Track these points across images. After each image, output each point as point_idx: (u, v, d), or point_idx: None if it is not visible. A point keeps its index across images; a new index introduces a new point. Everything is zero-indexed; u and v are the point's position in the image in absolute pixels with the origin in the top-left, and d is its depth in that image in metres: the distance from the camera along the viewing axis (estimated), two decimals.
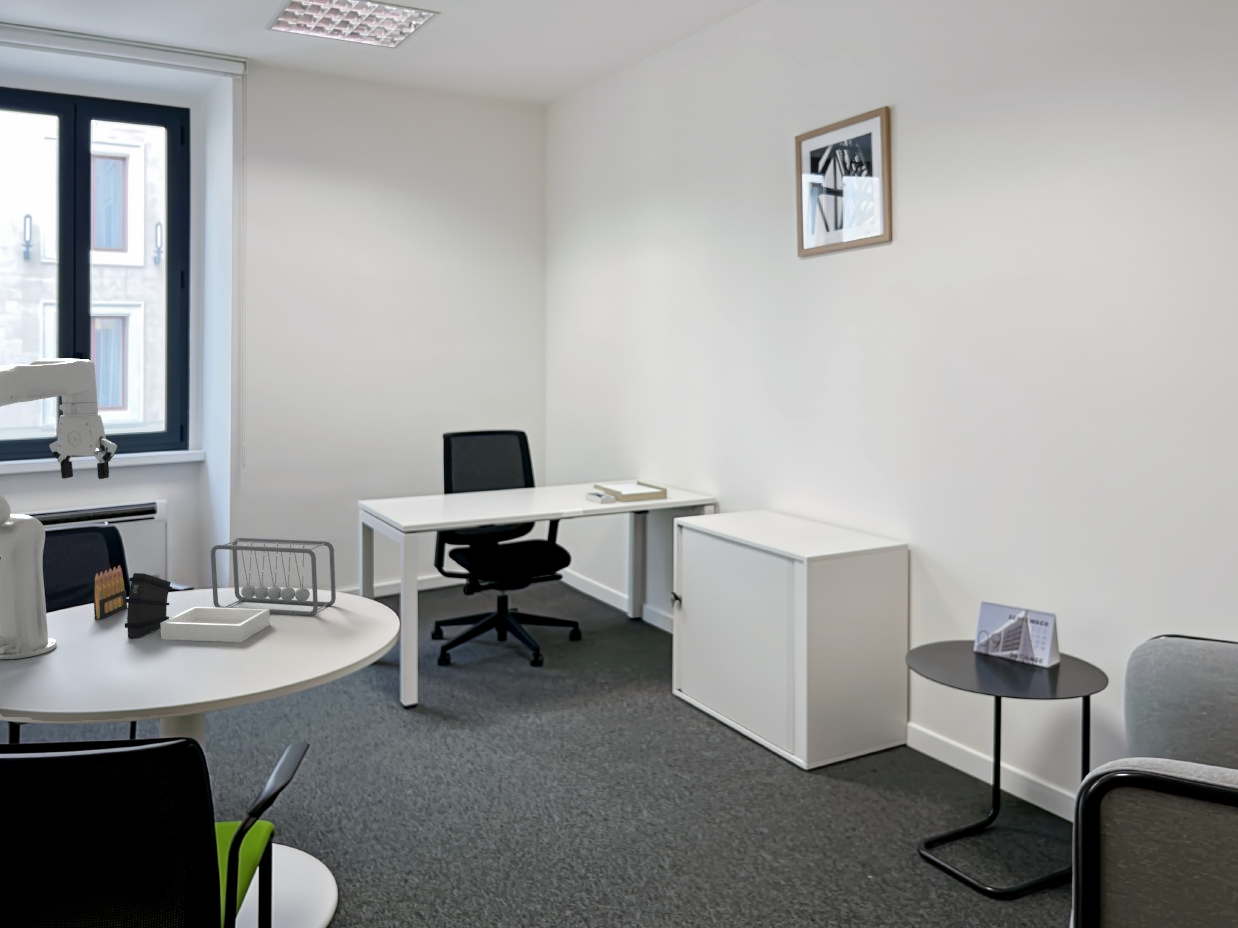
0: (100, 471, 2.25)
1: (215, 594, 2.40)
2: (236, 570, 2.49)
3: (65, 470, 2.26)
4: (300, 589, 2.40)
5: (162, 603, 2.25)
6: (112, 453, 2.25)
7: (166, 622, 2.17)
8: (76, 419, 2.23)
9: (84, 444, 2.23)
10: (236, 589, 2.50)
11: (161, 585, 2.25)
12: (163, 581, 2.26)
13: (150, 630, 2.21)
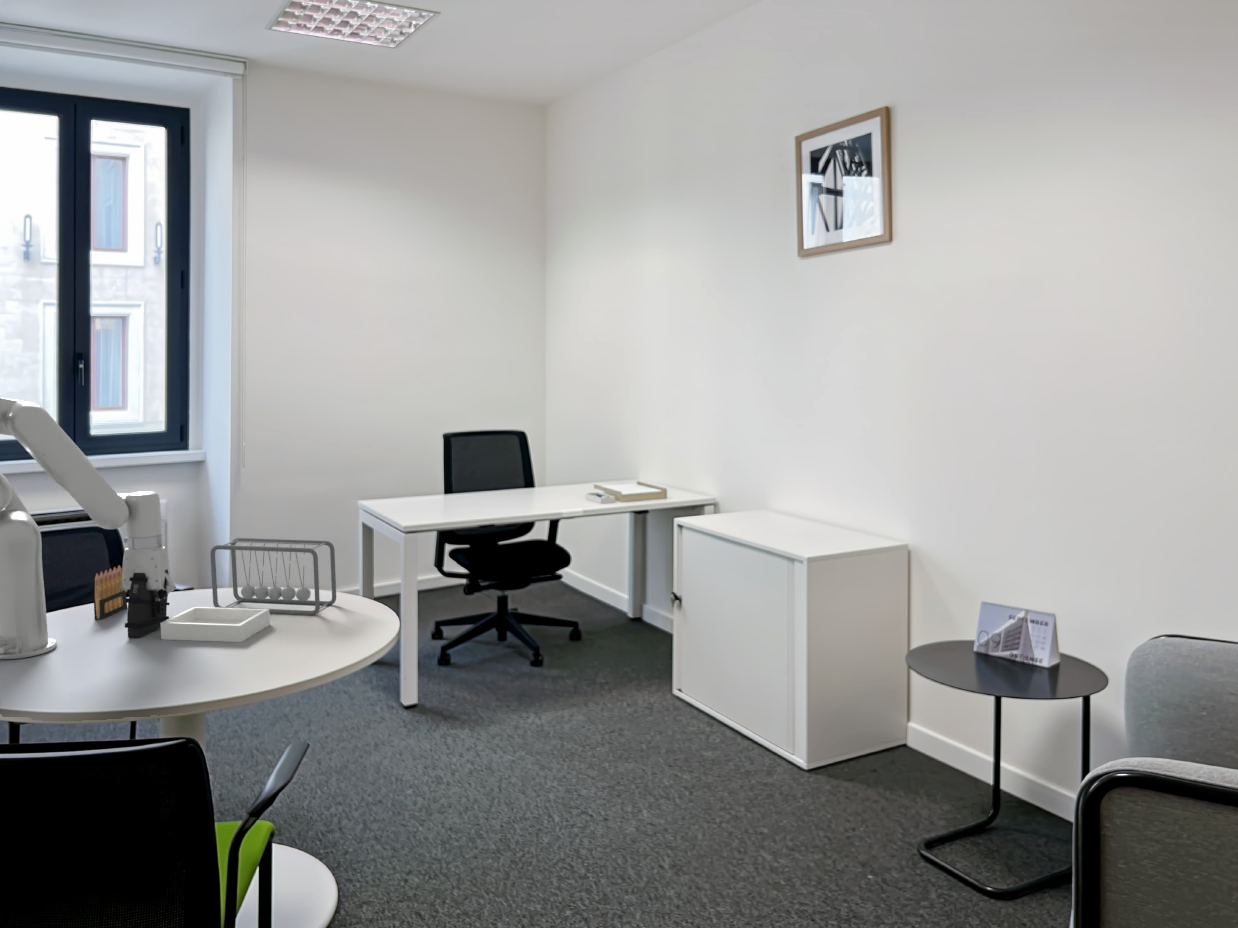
0: (155, 609, 2.22)
1: (214, 595, 2.40)
2: (235, 570, 2.49)
3: None
4: (301, 589, 2.40)
5: None
6: None
7: (166, 622, 2.17)
8: (142, 553, 2.19)
9: (149, 579, 2.19)
10: (235, 589, 2.49)
11: None
12: None
13: (150, 630, 2.21)
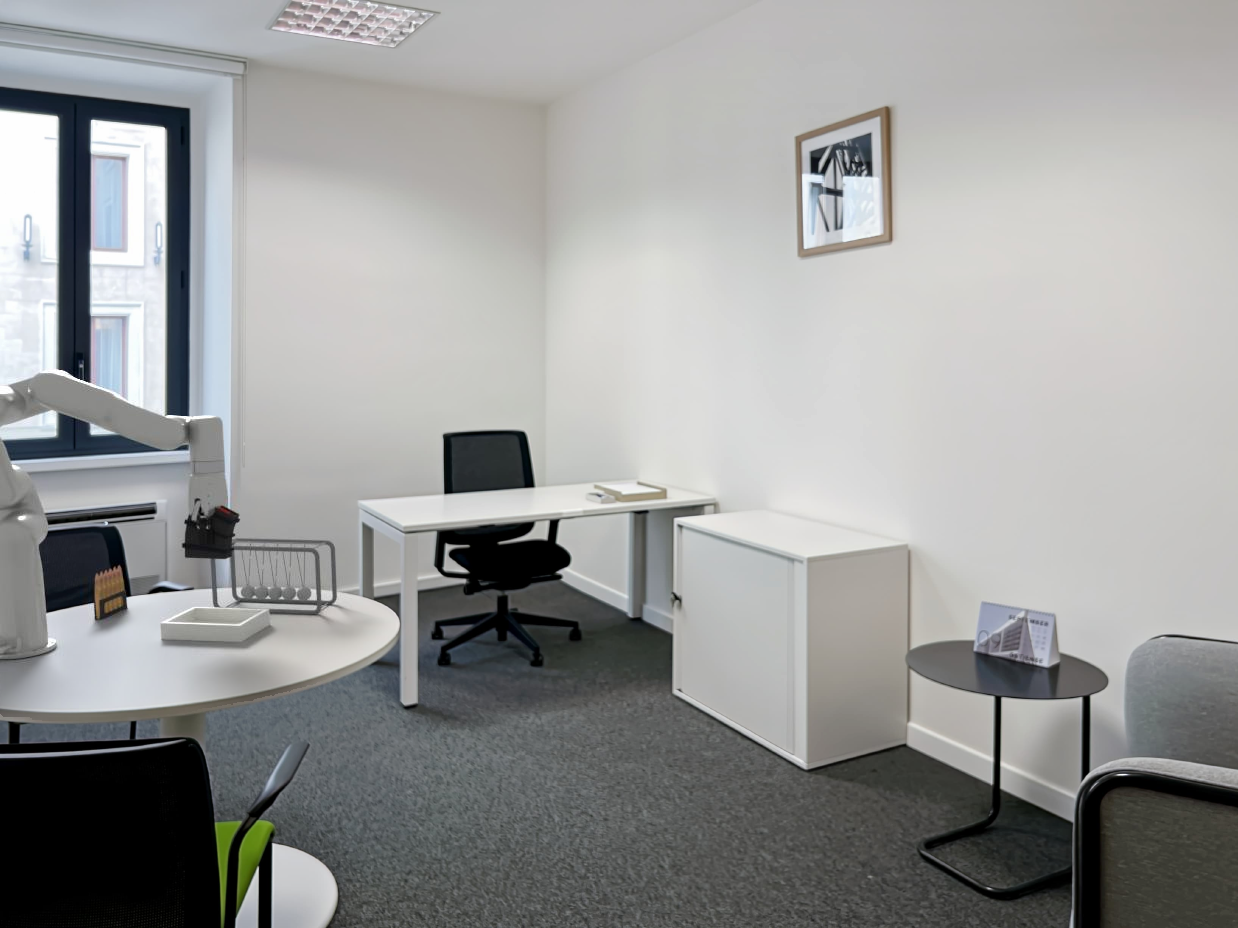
0: (200, 537, 2.17)
1: (214, 595, 2.40)
2: (234, 571, 2.48)
3: None
4: (302, 588, 2.41)
5: (215, 533, 2.17)
6: None
7: (166, 622, 2.17)
8: None
9: None
10: (234, 590, 2.49)
11: (215, 515, 2.17)
12: (221, 512, 2.17)
13: (200, 555, 2.19)
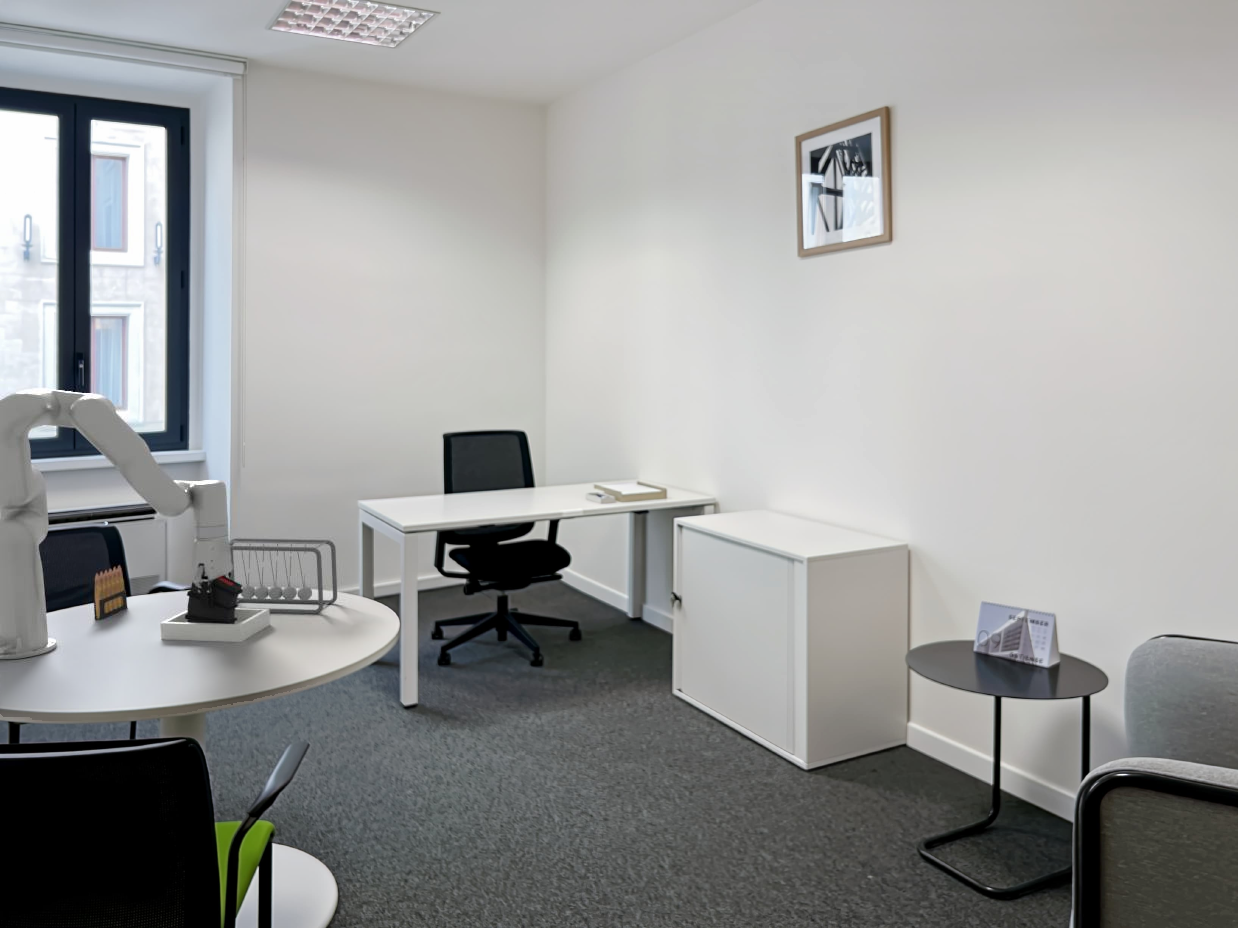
0: (201, 600, 2.18)
1: None
2: (232, 571, 2.48)
3: None
4: (303, 588, 2.41)
5: (218, 605, 2.19)
6: None
7: (166, 622, 2.17)
8: None
9: None
10: None
11: (218, 587, 2.19)
12: (224, 584, 2.19)
13: None
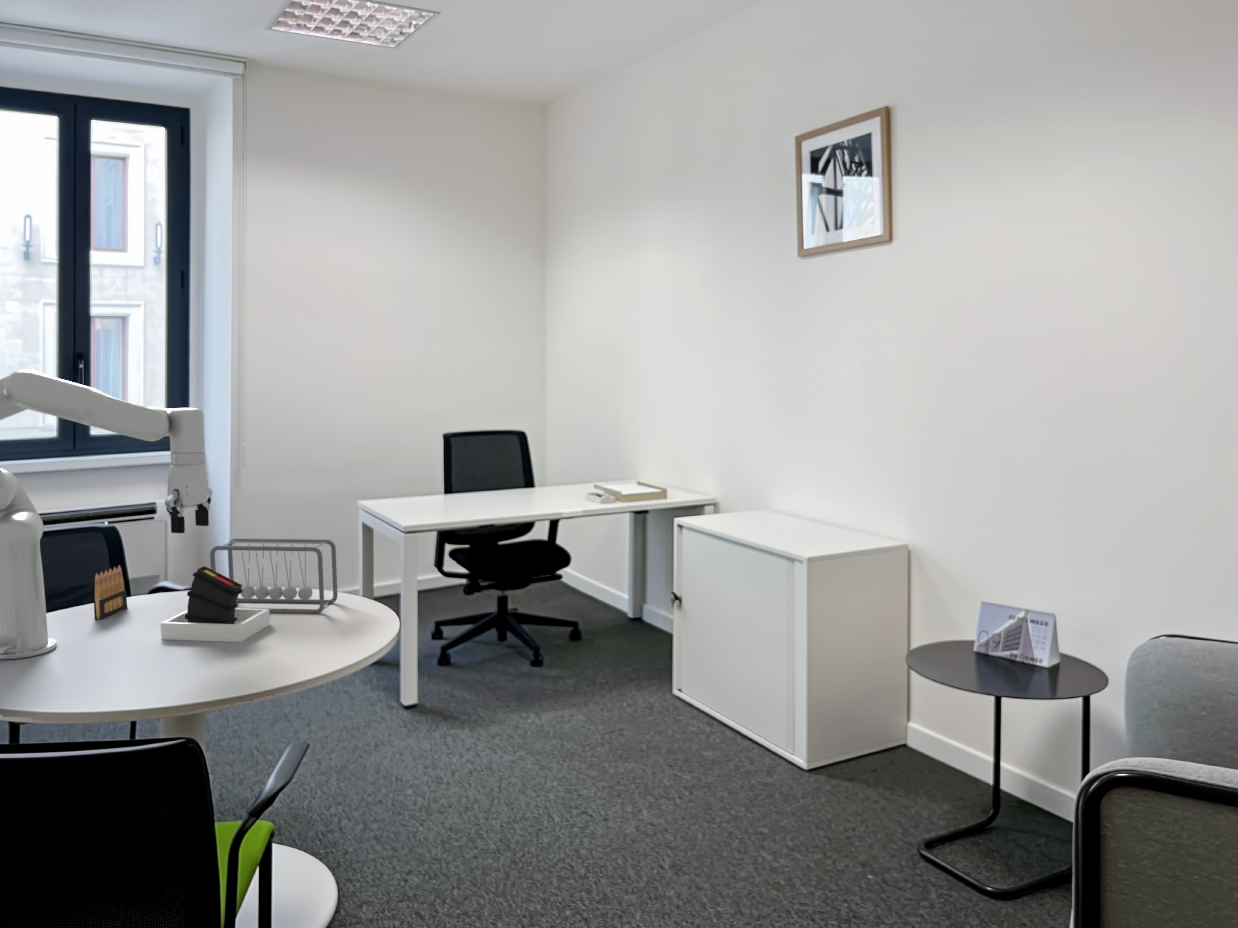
0: (171, 524, 2.16)
1: None
2: (232, 571, 2.48)
3: (197, 517, 2.25)
4: (303, 587, 2.42)
5: (218, 605, 2.19)
6: (168, 508, 2.13)
7: (166, 622, 2.17)
8: None
9: None
10: None
11: (218, 587, 2.19)
12: (224, 584, 2.19)
13: None
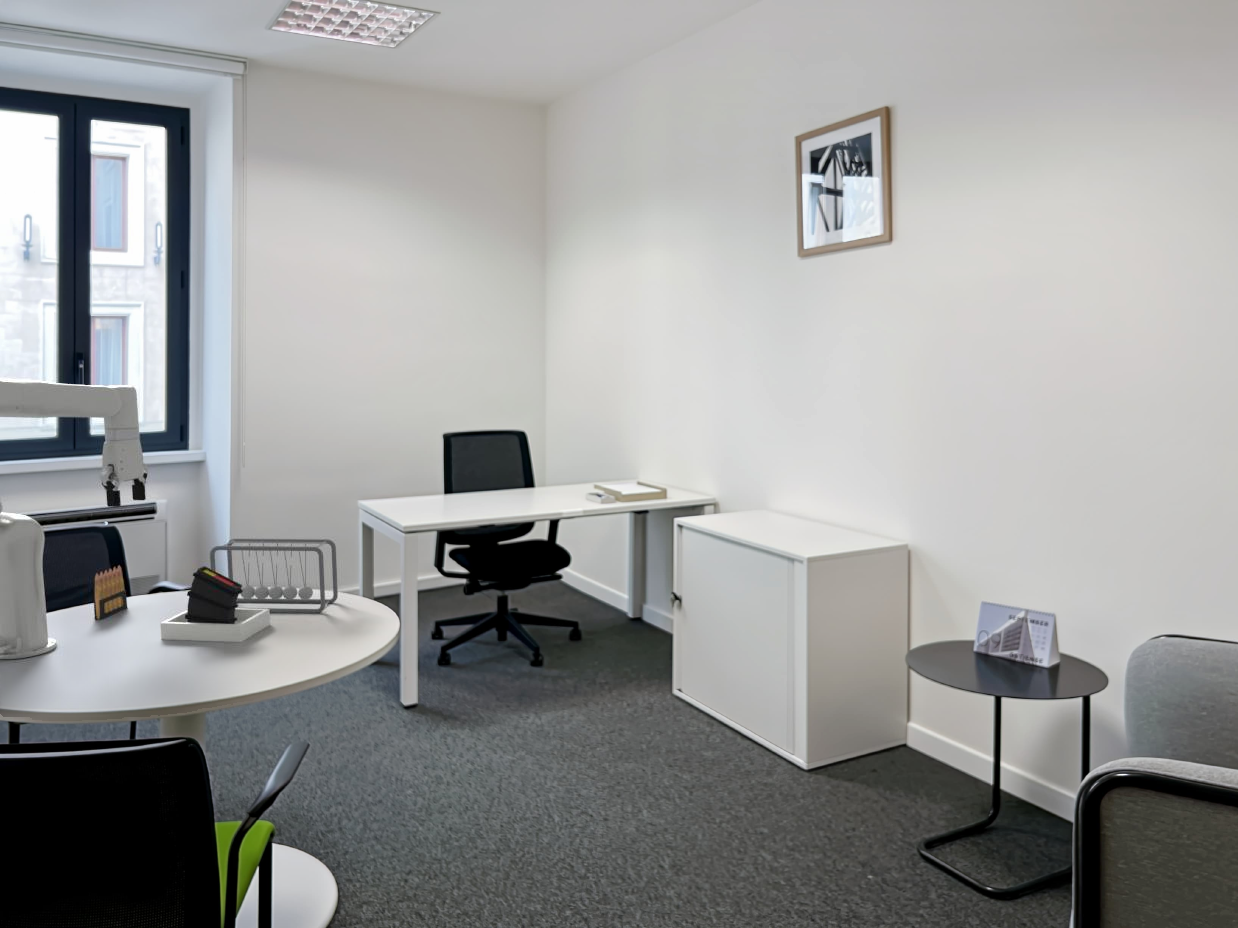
0: (107, 498, 2.23)
1: None
2: (231, 571, 2.48)
3: (134, 492, 2.32)
4: (304, 587, 2.42)
5: (218, 605, 2.19)
6: (103, 482, 2.20)
7: (166, 622, 2.17)
8: None
9: None
10: None
11: (218, 587, 2.19)
12: (224, 584, 2.19)
13: None
